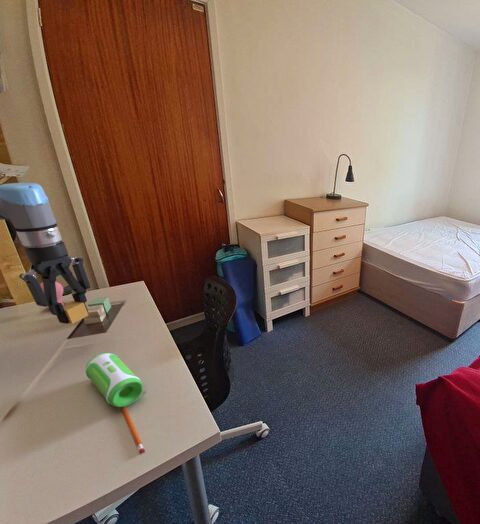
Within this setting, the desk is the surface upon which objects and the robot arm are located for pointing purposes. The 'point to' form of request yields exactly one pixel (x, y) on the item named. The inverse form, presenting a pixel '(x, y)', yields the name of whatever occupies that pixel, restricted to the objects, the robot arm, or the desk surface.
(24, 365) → the desk surface
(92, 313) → the beige cube
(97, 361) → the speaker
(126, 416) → the pencil
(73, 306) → the orange cube
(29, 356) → the desk surface
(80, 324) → the board
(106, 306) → the green cube
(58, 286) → the light bulb
